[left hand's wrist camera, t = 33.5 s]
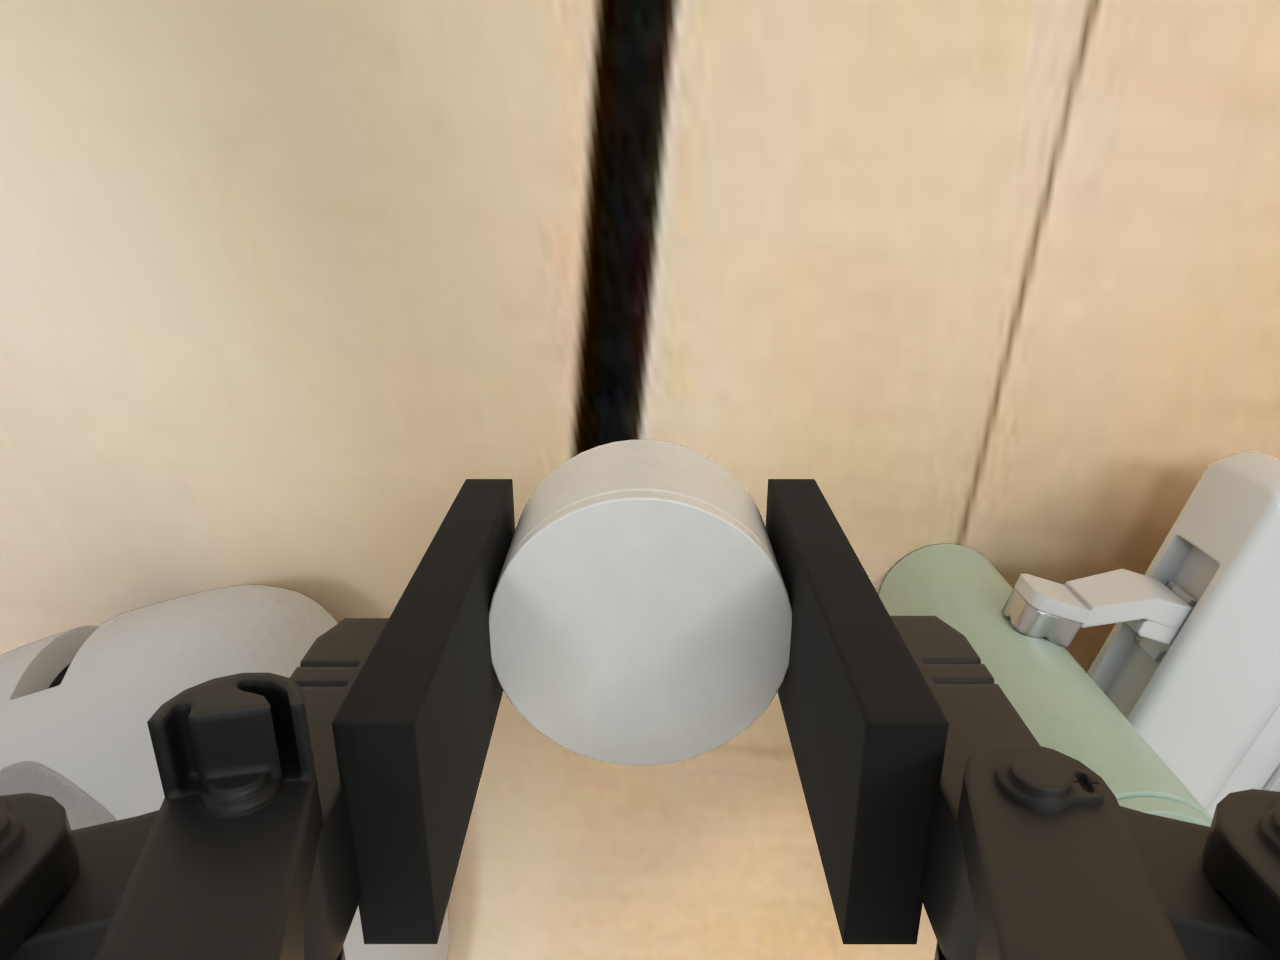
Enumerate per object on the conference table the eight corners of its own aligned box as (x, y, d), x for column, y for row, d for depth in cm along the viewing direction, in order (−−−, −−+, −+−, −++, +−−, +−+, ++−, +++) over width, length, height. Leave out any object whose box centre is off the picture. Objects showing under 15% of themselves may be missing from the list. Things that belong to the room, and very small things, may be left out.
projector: (-38, 878, 40) (-392, 1257, 26) (52, 452, 32) (-375, 666, 19) (415, 1015, 43) (312, 1415, 29) (591, 654, 36) (563, 964, 22)
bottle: (954, 669, 36) (1280, 1199, 18) (854, 621, 35) (1087, 1124, 17) (1025, 575, 35) (1464, 1049, 16) (922, 523, 34) (1261, 959, 15)
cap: (652, 383, 13) (654, 433, 11) (819, 569, 14) (856, 652, 12) (460, 549, 14) (422, 628, 12) (630, 711, 15) (628, 814, 13)
